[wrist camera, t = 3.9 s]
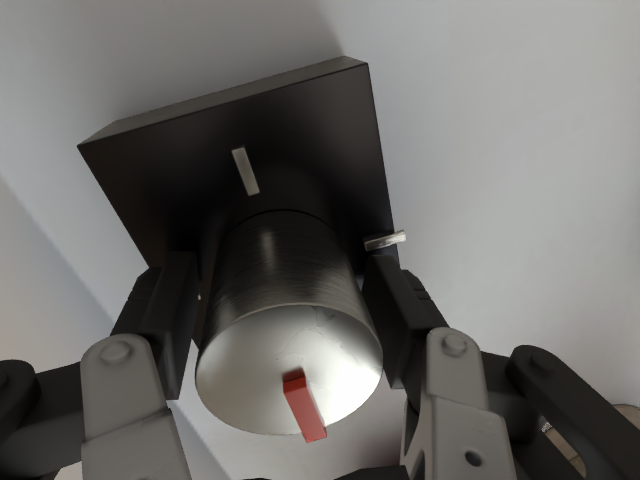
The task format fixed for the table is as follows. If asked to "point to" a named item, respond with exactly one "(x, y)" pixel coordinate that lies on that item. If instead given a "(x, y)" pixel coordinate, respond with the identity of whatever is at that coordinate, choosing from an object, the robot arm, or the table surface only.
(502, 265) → the table surface
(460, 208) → the table surface
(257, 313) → the timer knob
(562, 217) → the table surface
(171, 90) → the table surface
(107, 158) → the timer panel
